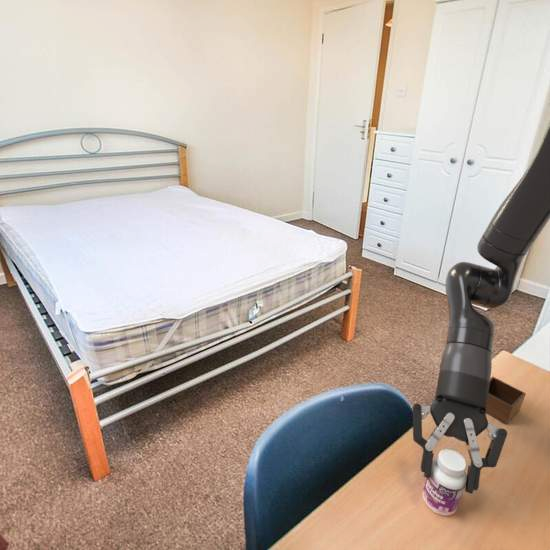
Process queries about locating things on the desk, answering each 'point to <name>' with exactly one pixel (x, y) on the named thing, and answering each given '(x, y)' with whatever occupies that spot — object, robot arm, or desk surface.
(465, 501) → the desk surface
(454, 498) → the pill bottle
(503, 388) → the dark brown open bin
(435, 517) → the desk surface
